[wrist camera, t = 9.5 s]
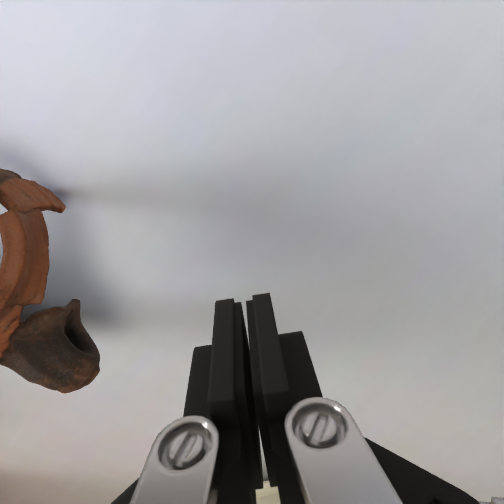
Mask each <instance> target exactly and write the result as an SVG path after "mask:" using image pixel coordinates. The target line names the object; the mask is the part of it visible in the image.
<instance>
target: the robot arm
mask: <svg viewBox="0 0 504 504" xmlns="http://www.w3.org/2000/svg"><path fill="white" fill-rule="evenodd" d="M252 297H253V300H250V301H246V306H247V320H248V334H249V344H248V338H247V333H246V327H245V321H244V316H243V310H242V305H241V302H237V303H235V302H234V299H233V298H232V299H226V300H219V301H216V303H215V314H214V326H213V338H212V345H206V346H200V347H195V348H194V351H193V357H192V364H191V370H190V376H189V383H188V389H187V395H186V402H185V408H184V415H183V417H182V418H180V419H177V420H175V421H173V422H172V423H170V424H169V425H167V426H166V427H165V428H164V429H163V430H162V431H161V432H160V433H159V434H158V435H157V437H156V439H155V441H154V443H153V445H152V447H151V450H150V452H149V455H148V457H147V460H146V462H145V465H144V468H143V470H142V473H141V475H140V477H139V478H138V479H137V480H136V481H135V482H134V483H133V484H132V485H131V486H130V487H128V488H127V489H126V490H125V491H124V492H123V493H122V494H121V495H120V496H119V497H118V498H117V499H115V500H114V501H113V502H112V503H111V504H257V503H256V490H258V489H263V474H262V462H261V450H260V438H259V430H260V435H261V441H262V446H263V451H264V457H265V462H266V467H267V473H268V478H269V483H270V488H271V487H278V492H279V498H280V503H281V504H504V498H498V497H492V498H491V503H489V502H479V501H477V500H476V499H474V498H473V497H471V496H470V495H468V494H467V493H466V492H464V491H462V490H461V489H459V488H457V487H455V486H453V485H451V484H450V483H448V482H446V481H444V480H442V479H440V478H439V477H437V476H435V475H433V474H431V473H429V472H428V471H426V470H424V469H422V468H420V467H418V466H416V465H415V464H413V463H411V462H409V461H407V460H405V459H404V458H402V457H400V456H398V455H396V454H394V453H393V452H391V451H389V450H387V449H385V448H383V447H382V446H380V445H378V444H376V443H374V442H372V441H371V440H369V439H367V438H365V437H364V436H363V435H362V433H361V431H360V429H359V428H358V426H357V424H356V423H355V421H354V419H353V417H352V416H351V414H350V413H349V412H348V411H347V409H346V408H345V407H344V406H342V405H341V404H339V403H338V402H337V401H334V400H331V399H328V398H323V396H322V393H321V390H320V387H319V383H318V380H317V377H316V374H315V371H314V367H313V364H312V361H311V358H310V355H309V351H308V348H307V345H306V342H305V339H304V335H303V333H302V331H298V332H292V333H285V334H279V335H278V332H277V327H276V322H275V317H274V312H273V307H272V302H271V297H270V293H265V294H259V295H252ZM249 347H250V349H249ZM258 425H259V426H258Z"/></svg>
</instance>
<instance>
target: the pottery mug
mask: <svg viewBox="0 0 504 504" xmlns="http://www.w3.org/2000/svg"><path fill="white" fill-rule="evenodd" d="M0 203H1V205H3V206H4V207H5V208H6V209H7V210H8V211H7V212H5V213H3V214H1V215H0V233H1V238H2V244H3V258H2V263H1V266H0V364H1V365H3V366H6V367H8V368H10V369H12V370H13V371H15V372H16V373H18V374H19V375H21V376H22V377H23V378H24V379H26V380H27V381H29V382H32V383H36V384H39V385H41V386H44V387H46V388H48V389H52V390H58V391H59V392H61V393H69V392H72V391H75V390H78V389H81V388H82V387H84V386H87V385H88V384H90V383H91V382H92V381H93V380H94V378H95V377H96V376H97V375H98V373H99V371H100V368H99V362H100V354H99V351H98V349H97V347H96V345H95V343H94V342H93V340H92V339H91V337H90V336H89V334H88V333H87V331H86V330H85V328H84V327H83V325H82V323H81V318H80V301H79V300H77V299H72V300H71V301H70V302H69V303H68V304H67V305H66V306H65V307H63V308H61V307H54V308H50V309H46V310H42V311H39V312H36V313H34V314H32V315H31V316H30V317H28V318H27V319H26V320H25V321H24V322H22V323H21V322H20V320H21V318H20V315H21V312H22V309H23V307H24V306H25V305H30V304H41V303H42V301H43V299H44V295H45V289H46V283H47V275H48V271H49V250H48V246H49V240H48V231H47V226H46V223H45V220H44V217H43V214H42V212H41V211H45V210H51V211H55V212H58V213H62V212H63V211H64V210H65V208H66V207H65V205H64V204H63V202H62V201H61V200H60V199H59V198H58V197H57V196H55V195H54V194H53V193H52V192H51V191H50V190H48V189H47V188H45V187H42V186H41V185H39V184H38V183H36V182H35V181H29V180H26V179H22V178H21V176H20V175H19V174H17V173H15V172H12V171H9V170H3V169H0Z"/></svg>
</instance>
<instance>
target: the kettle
mask: <svg viewBox="0 0 504 504" xmlns="http://www.w3.org/2000/svg"><path fill="white" fill-rule="evenodd" d="M256 503H257V504H281V503H280V498H279V492H278V487H271V488H270V483H269V480H268V481H264V482H263V489H258V490H256Z"/></svg>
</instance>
